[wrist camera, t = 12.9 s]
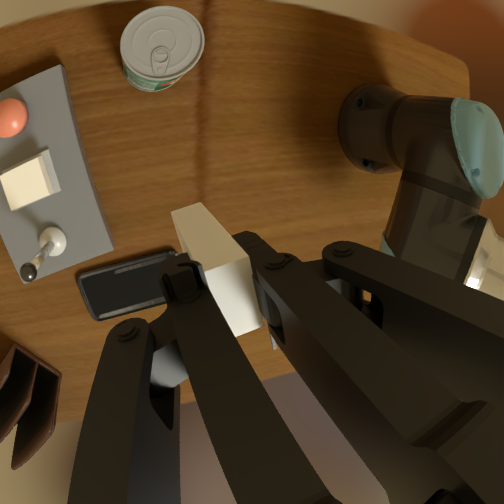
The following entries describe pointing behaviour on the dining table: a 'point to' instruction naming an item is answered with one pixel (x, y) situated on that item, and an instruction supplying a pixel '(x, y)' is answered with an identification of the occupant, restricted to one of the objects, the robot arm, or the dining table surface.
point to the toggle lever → (36, 262)
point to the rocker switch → (26, 183)
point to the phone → (124, 286)
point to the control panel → (52, 181)
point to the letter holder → (27, 402)
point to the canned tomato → (160, 47)
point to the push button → (13, 117)
